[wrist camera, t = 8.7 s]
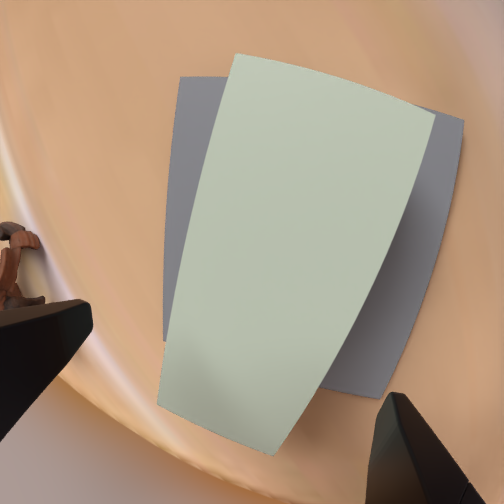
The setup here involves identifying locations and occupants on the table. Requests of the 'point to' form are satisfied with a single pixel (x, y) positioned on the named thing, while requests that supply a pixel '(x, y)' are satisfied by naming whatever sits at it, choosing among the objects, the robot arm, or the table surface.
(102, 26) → the table surface
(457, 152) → the peg plate
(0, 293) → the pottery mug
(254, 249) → the shelf board
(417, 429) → the robot arm
